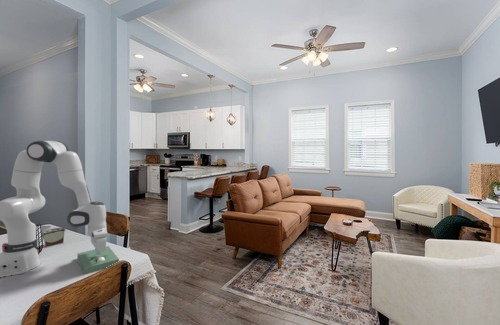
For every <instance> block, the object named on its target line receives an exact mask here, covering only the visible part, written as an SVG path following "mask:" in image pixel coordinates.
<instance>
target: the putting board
mask: <svg viewBox="0 0 500 325" xmlns="http://www.w3.org/2000/svg"><path fill="white" fill-rule="evenodd" d="M76 256H77V261H78V263H79V265H80V267H81V270H82V272H83V274H84V275H87V274H89V273H93V272H97V271H102V270H104V269H107V268H106V267H108V266H110V265H112V264H114V263H116V262H118V261H119V262H120V259H119V257H118V256H117V255H116V254H115V252H114V251H113V250H112V249H111V247H110V246H107V245H106V249H105V250H104V251H101V252H100V255H97V254H96V250H95V248H94V249H90V250H87V251H81V252H79V253H77V255H76ZM100 257H104V258H105V260H104V261H101V262H97V260H98V258H100ZM108 268H109V267H108Z"/></svg>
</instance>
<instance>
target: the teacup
mask: <svg viewBox="0 0 500 325" xmlns="http://www.w3.org/2000/svg"><path fill="white" fill-rule="evenodd" d="M40 226H41V229H42V234H43V232H44V231H46V230H49V229H52V227H51V225H40ZM42 238H43V239H42V240H44V236H42Z"/></svg>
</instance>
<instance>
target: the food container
mask: <svg viewBox="0 0 500 325" xmlns="http://www.w3.org/2000/svg"><path fill="white" fill-rule="evenodd" d="M65 232H66V229H65V228H64V227H53V228H51V229H49V230H46V231H44V232H43V234H42V236H44V239H43V241H44V245H45V246H44V248H49V247H53V246H57V245H61V244H64V239H65Z"/></svg>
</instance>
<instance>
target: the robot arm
mask: <svg viewBox="0 0 500 325" xmlns="http://www.w3.org/2000/svg"><path fill="white" fill-rule="evenodd" d="M44 163H53V164H54V165H55V166H56V171H57V177H58V180H59V182H60V184H61V185H62V186H63V187H65V188H68V189H71V190H72V191H73V192H74V194H75V196H76V200H77V204H78V208H76V209H73V210H72V211H70V212H69V213H68V214H67V217H66V222H67V224H68V225H69V226H71V227H72V228H79V227H84V226H87V234H88V236H90V242H91V244H92V245H93V247H94V249H95V250H96V254H97V255H100V252H101V251H104V250H105V249H106V247H107V237H108V230H107V220H106V219H107V208H106V204H105V203H104V202H102V201H92V199H91V196H90V192H89V188H88V186H87V182H86V180H85V179H86V178H85V174H84V171H83V166H82V161H81V159H80V157H79V155H78V153H77V152H75V151H70V149H69V147H68V145H67V144H65V143H64V142H61V141H57V140H51V139H50V140H35V141H32V142H31V143H29V144H28V145H27V147H26V149H25V150H21V151H20V152H19V153H18V154H17V157H16V160H15V162H14V165H13V170H12V176H11V179H10V180H11V181H10V184H11V186H12V187H14V188H15V190H16V196H12V197H8V198H4V199H2V200H0V221H1V222H2V223H3V225H4V226H5V228H6V234H7V242H4V243H2V244H1V249H2V252H1V253H0V277H1V278H4V277H3V276H6V277H11V275H12V276H17V275H21V274H25V273H27V272H29V271H30V270H32V269H35V268H36V267H39V266H40V265H41V264H42V261H41V259H40V257H39V251H38V248H39V242H38V241H39V240H37V238H36V227H37V226H36V224H35V223H34V222H32V221H31V220H30V218H29V214H30V215H31V214H33V213H36V212H37V211H39V210H41V209H42V208H43V207H45V204H46V198H45V196H44V195H42V193H41V189H40V182H41V176H42V171H43V165H44Z"/></svg>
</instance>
